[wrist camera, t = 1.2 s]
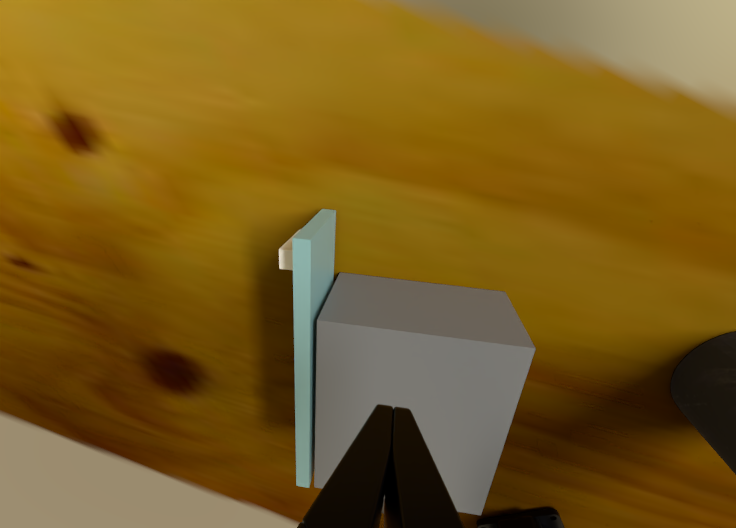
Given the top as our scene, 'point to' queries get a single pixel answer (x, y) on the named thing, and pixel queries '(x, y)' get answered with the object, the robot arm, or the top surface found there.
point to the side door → (308, 323)
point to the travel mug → (710, 393)
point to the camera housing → (421, 373)
